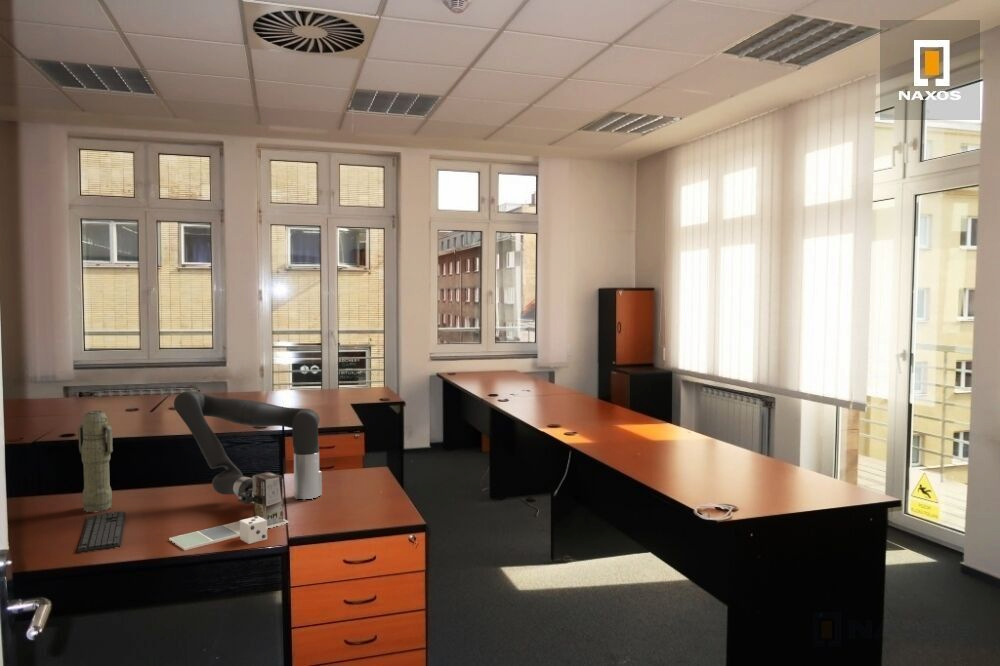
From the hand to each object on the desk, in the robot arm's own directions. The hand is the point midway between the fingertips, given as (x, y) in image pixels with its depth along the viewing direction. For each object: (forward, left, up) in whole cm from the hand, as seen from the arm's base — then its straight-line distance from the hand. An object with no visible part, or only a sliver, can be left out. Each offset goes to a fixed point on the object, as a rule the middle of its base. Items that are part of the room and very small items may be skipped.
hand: (271, 499), depth 230 cm
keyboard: (+42, -31, -9) cm, 53 cm away
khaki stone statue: (+36, -59, -9) cm, 70 cm away
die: (+11, +9, -9) cm, 17 cm away
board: (+13, -2, -9) cm, 16 cm away
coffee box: (0, -2, -9) cm, 9 cm away
